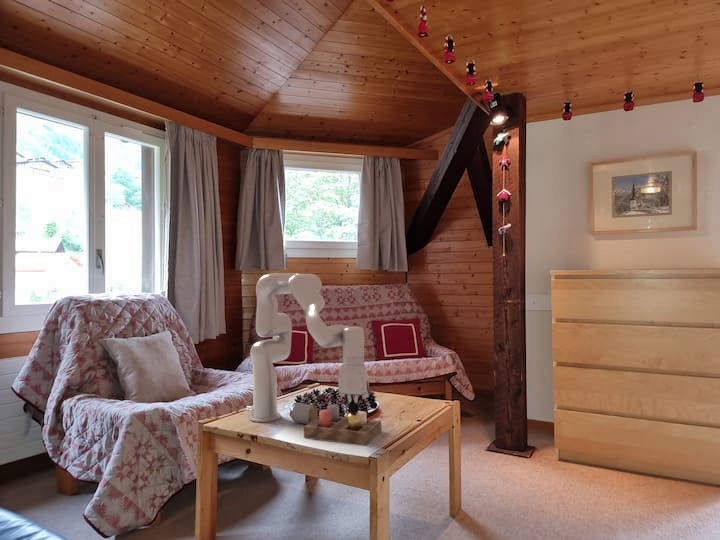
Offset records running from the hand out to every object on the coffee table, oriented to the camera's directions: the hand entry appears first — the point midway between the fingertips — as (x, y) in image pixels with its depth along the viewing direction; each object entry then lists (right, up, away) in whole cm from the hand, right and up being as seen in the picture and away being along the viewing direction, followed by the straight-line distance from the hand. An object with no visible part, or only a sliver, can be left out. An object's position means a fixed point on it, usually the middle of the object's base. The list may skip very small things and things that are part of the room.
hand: (354, 413), depth 182 cm
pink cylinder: (-10, -6, +4) cm, 12 cm away
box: (-4, -9, +5) cm, 11 cm away
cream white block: (+2, -7, +7) cm, 10 cm away
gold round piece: (0, -6, 0) cm, 6 cm away
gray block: (-8, -6, +11) cm, 14 cm away
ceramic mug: (-19, -10, +21) cm, 30 cm away
